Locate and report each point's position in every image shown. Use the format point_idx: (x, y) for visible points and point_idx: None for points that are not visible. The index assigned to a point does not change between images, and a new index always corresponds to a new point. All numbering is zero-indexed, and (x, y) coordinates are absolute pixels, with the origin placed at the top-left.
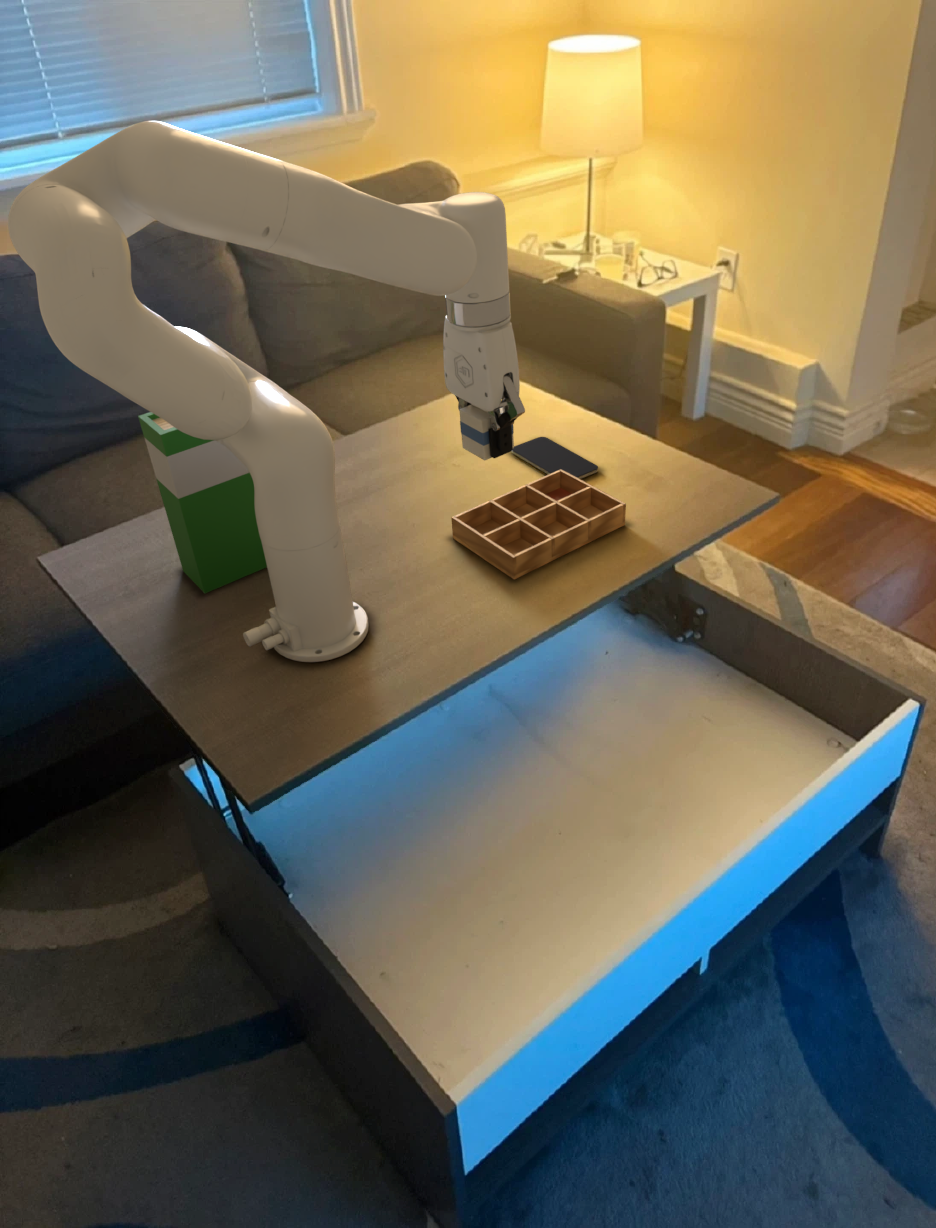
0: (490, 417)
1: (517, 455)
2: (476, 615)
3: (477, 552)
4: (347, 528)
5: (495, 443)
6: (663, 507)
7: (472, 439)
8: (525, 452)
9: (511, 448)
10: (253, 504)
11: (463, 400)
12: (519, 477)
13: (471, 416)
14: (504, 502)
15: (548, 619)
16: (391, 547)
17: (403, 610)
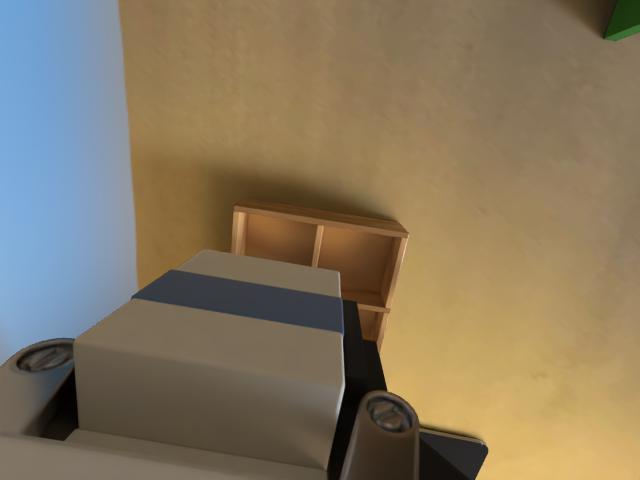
0: (33, 397)
1: (468, 438)
2: (220, 89)
3: (335, 213)
4: (586, 127)
5: None
6: None
7: (253, 283)
8: (460, 448)
9: None
10: None
11: (358, 476)
12: (428, 399)
13: (195, 356)
14: (377, 326)
15: (141, 156)
16: (470, 136)
17: (318, 10)
